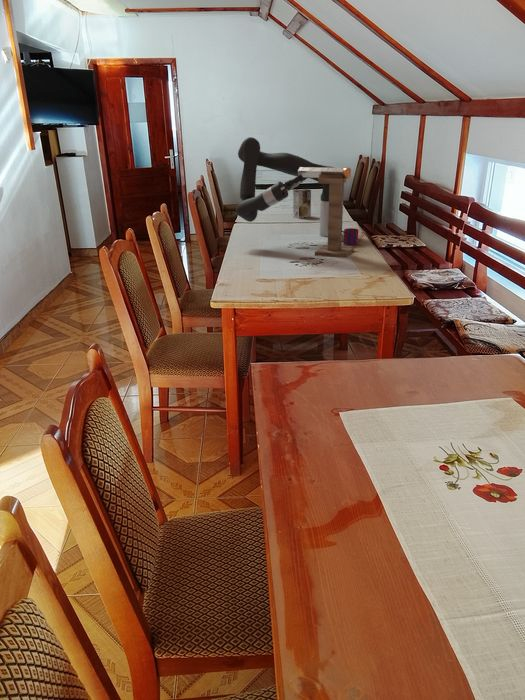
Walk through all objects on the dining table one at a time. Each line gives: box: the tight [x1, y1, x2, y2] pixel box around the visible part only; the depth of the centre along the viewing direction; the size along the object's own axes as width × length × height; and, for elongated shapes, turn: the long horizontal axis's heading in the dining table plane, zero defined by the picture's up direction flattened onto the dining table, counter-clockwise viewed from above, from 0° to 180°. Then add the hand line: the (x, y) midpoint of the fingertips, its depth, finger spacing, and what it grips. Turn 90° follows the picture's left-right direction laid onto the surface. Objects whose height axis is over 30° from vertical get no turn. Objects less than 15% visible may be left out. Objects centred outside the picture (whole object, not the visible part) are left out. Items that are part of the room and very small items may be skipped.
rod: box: [297, 167, 352, 180], centre depth 227 cm, size 4×22×4 cm, turn 67°
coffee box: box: [292, 188, 312, 219], centre depth 324 cm, size 9×6×16 cm
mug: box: [342, 227, 359, 246], centre depth 254 cm, size 7×10×7 cm
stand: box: [314, 174, 354, 258], centre depth 232 cm, size 14×14×34 cm
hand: (305, 175), depth 231 cm, fingers open, 8 cm apart
